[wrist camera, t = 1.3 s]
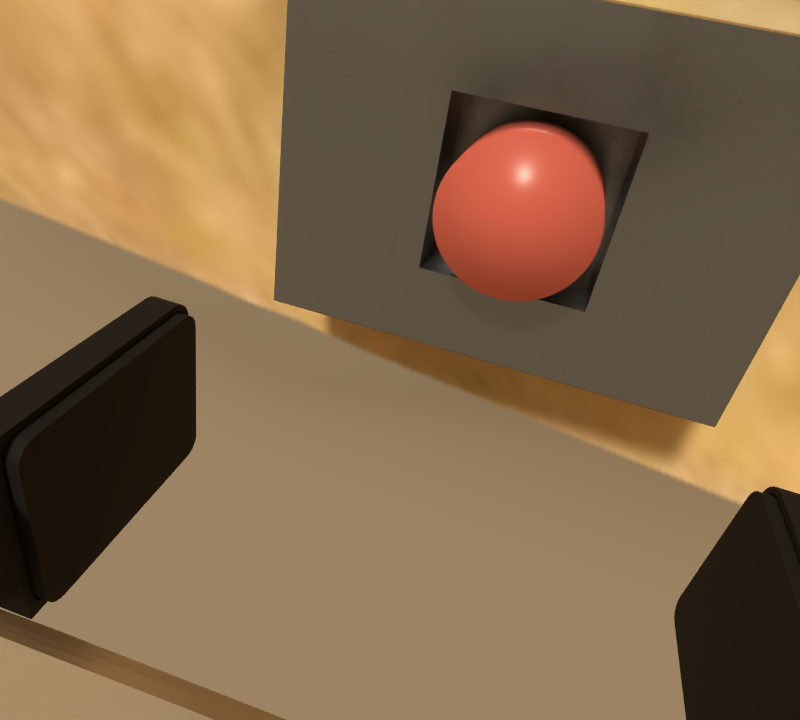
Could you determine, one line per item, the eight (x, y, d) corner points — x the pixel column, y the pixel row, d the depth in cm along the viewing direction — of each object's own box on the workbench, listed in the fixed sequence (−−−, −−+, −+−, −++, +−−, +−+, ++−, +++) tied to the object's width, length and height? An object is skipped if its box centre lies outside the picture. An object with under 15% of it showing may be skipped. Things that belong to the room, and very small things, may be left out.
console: (854, 44, 23) (919, 59, 18) (698, 356, 31) (714, 427, 26) (351, -49, 26) (290, -58, 21) (323, 255, 34) (274, 300, 29)
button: (629, 139, 22) (630, 157, 20) (577, 287, 26) (573, 319, 23) (467, 103, 23) (449, 117, 21) (438, 251, 26) (420, 278, 24)
